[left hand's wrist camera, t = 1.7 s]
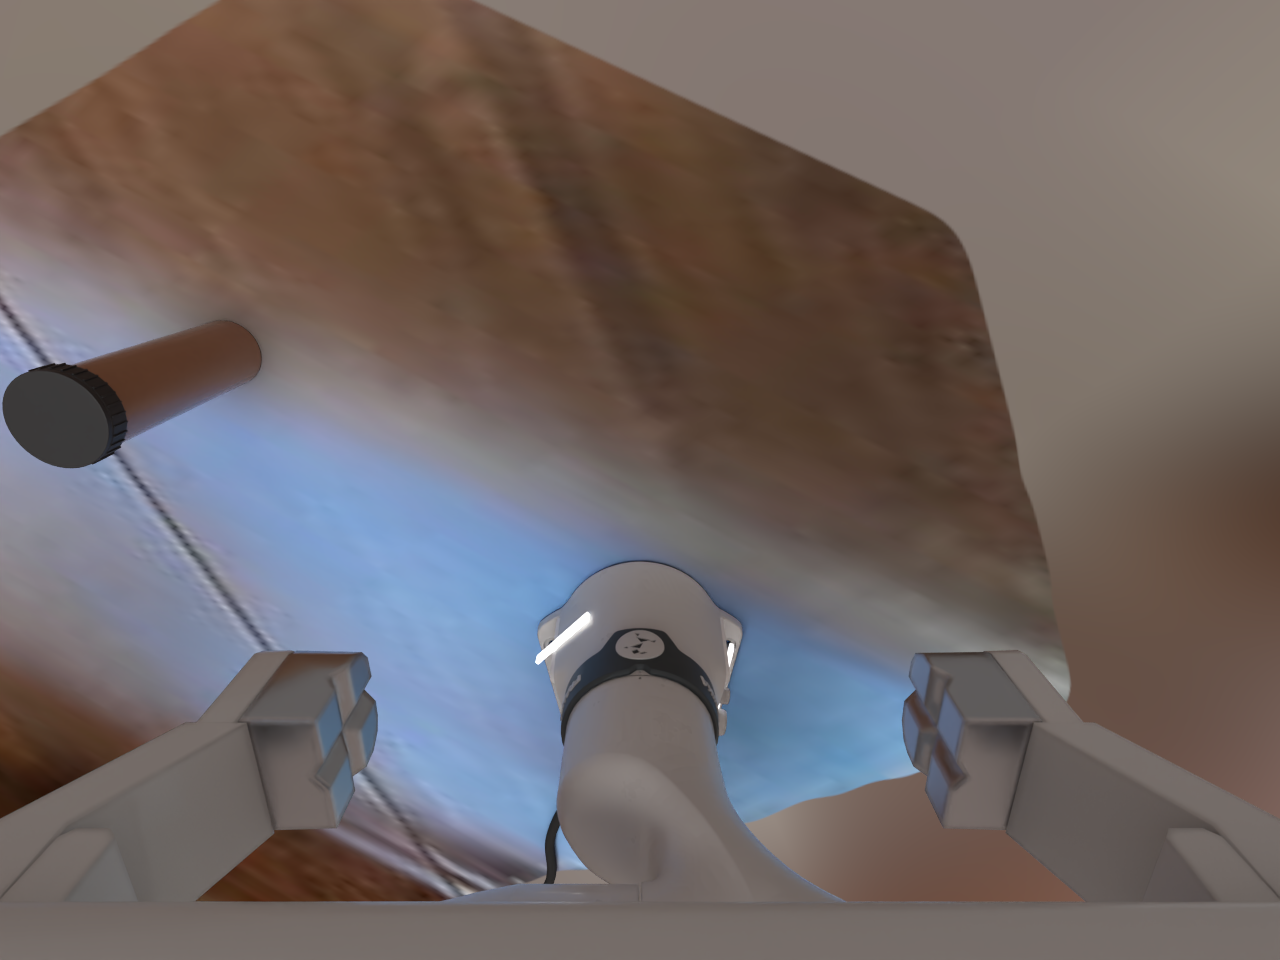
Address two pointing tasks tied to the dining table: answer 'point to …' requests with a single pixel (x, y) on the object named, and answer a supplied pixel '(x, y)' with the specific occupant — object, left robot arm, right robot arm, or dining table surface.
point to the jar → (177, 371)
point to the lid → (65, 415)
